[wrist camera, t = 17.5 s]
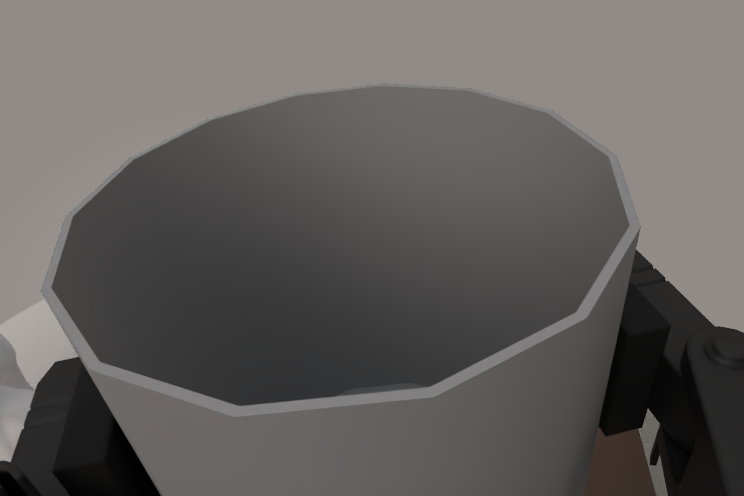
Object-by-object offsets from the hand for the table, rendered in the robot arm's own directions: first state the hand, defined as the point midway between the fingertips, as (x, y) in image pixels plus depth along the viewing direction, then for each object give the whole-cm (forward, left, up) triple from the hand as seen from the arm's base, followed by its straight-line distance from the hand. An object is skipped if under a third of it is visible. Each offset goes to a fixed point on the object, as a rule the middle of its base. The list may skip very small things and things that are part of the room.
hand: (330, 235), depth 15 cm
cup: (-2, +4, -6) cm, 8 cm away
